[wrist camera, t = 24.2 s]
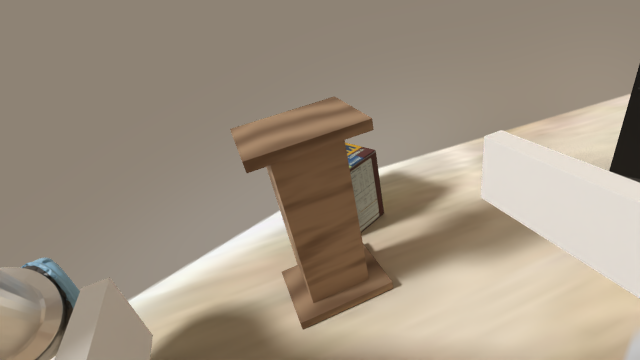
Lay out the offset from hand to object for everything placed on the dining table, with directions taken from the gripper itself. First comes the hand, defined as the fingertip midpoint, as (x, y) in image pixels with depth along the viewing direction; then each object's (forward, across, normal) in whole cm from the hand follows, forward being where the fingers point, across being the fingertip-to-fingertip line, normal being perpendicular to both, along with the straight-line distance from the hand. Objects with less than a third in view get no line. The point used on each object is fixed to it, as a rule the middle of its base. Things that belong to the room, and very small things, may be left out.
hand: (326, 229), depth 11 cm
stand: (+32, +6, -38) cm, 50 cm away
